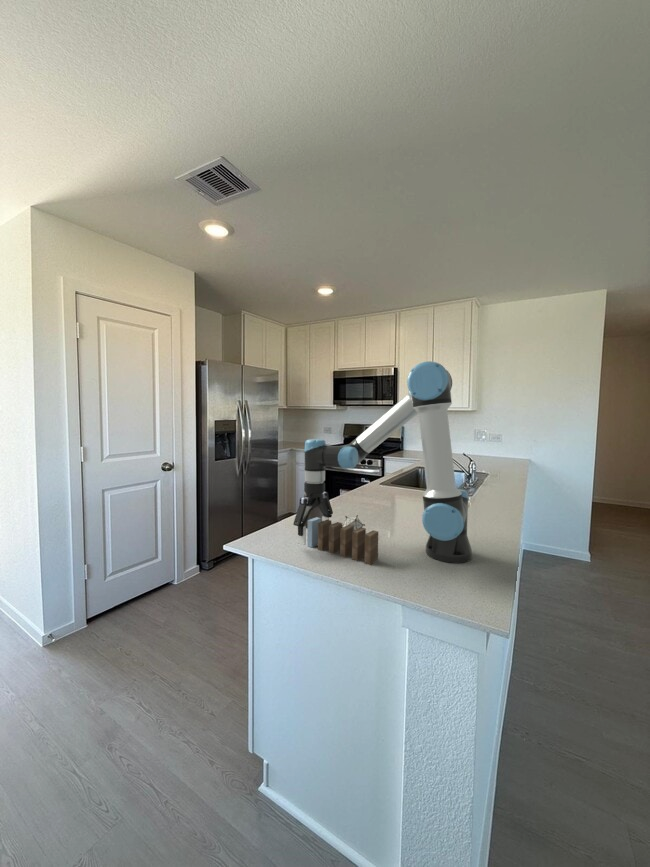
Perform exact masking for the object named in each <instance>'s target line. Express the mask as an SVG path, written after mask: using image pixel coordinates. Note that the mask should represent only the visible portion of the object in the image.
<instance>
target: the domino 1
mask: <svg viewBox="0 0 650 867" xmlns="http://www.w3.org/2000/svg"><path fill="white" fill-rule="evenodd" d="M319 522H321V518H318V517H316V518H313V519H310V520H308V528H307V531H306V535H307V536H306V539H307V540H306V546H307V547H308V548H311V549H312V548H314V547H316V546H318V523H319Z"/></svg>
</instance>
